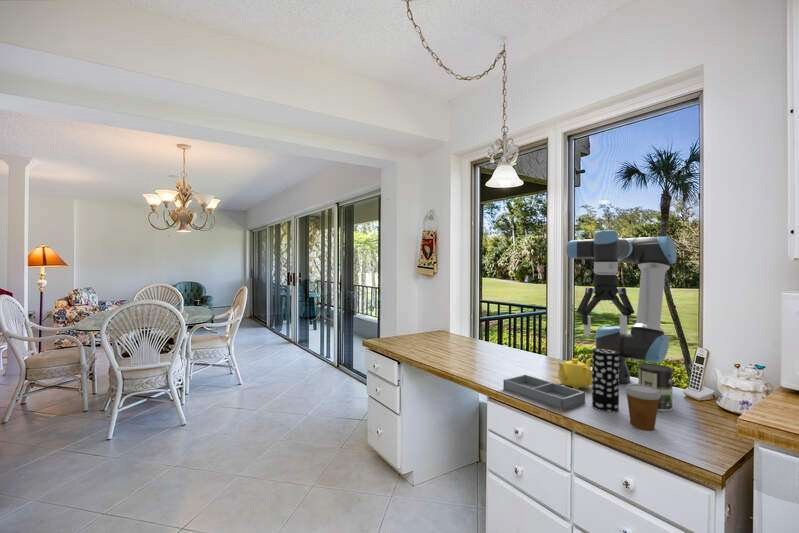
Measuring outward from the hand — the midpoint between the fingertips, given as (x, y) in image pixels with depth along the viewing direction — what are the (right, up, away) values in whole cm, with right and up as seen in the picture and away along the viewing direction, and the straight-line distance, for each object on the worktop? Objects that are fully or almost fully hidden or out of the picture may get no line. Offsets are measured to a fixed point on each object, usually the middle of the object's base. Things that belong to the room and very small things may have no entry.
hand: (605, 333), depth 134 cm
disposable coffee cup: (+3, -26, -16) cm, 31 cm away
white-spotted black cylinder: (0, -26, 0) cm, 26 cm away
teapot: (0, -26, +22) cm, 35 cm away
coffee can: (+19, -27, +1) cm, 32 cm away
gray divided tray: (-18, -26, +11) cm, 34 cm away
